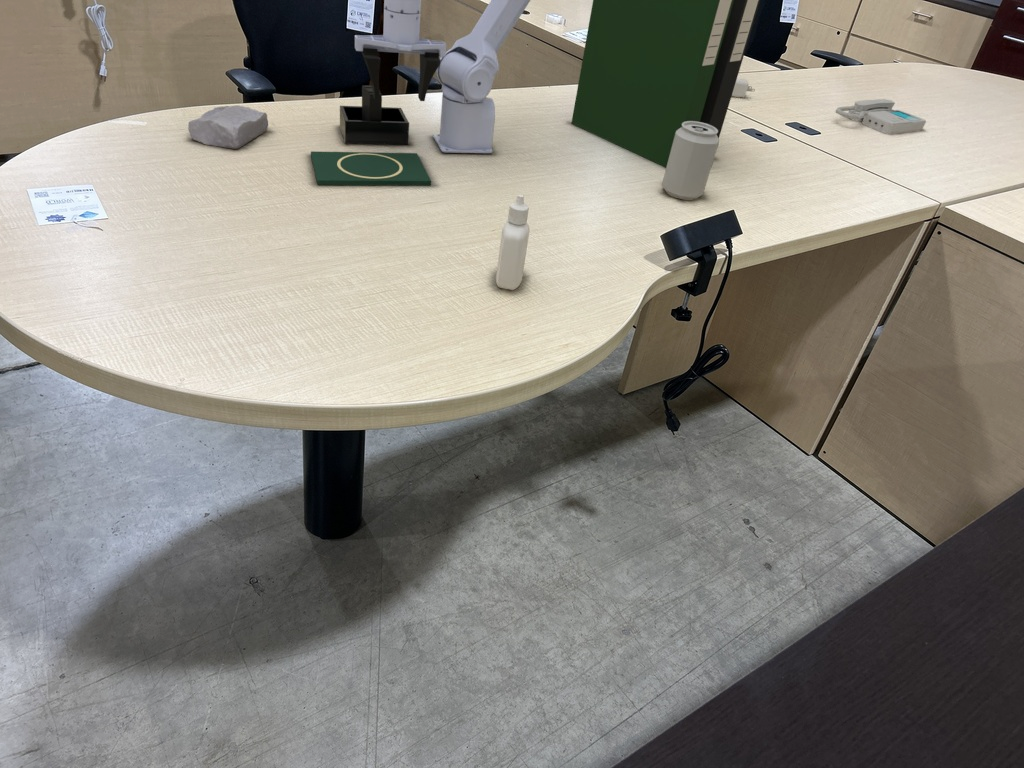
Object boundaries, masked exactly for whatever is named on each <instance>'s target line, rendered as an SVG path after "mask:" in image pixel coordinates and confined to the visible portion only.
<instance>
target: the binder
mask: <svg viewBox="0 0 1024 768" xmlns="http://www.w3.org/2000/svg"><path fill="white" fill-rule="evenodd" d="M760 4H761V0H592V4H591V10H590V16H589V22H588V27H587V31H586V33H587V34H586V38H585V44H584V50H583V55H582V62H581V67H580V72H579V77H578V83H577V88H576V93H575V94H576V95H575V100H574V106H573V111H572V117H571V124H572V125H574V126H575V127H578V128H580V129H582V130H583V131H586V132H589V133H591V134H593V135H596V136H597V137H599V138H602V139H604V140H606V141H607V142H610V143H611V144H614V145H616V146H619V147H621V148H623V149H625V150H628V151H629V152H631V153H634V154H636V155H638V156H641V157H642V158H645V159H647V160H649V161H651V162H654V163H655V164H657V165H659V166H662V167H664V168H666V167H667V163H668V160H669V156H670V152H671V148H672V144H673V141H674V137H675V133H676V131H677V130H678V129H679V128H681V127H682V123H683V122H686V121H697V122H702V123H706V124H709V125H711V126H713V127H715V128H716V129H717V130H718V133H717V136H718V138H719V139H720V136H721V132H722V129H723V126H724V123H725V119H726V116H727V113H728V109H729V106H730V104H731V99H732V93H733V90H734V86H735V83H736V80H737V78H738V76H739V73H740V70H741V66H742V63H743V60H744V56H745V53H746V50H747V47H748V42H749V39H750V36H751V33H752V30H753V26H754V23H755V20H756V16H757V13H758V11H759V7H760Z"/></svg>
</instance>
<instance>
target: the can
mask: <svg viewBox="0 0 1024 768" xmlns="http://www.w3.org/2000/svg"><path fill="white" fill-rule="evenodd" d="M717 133H718V130H717V129H716V128H715V127H713V126H711V125H709V124H706V123H702V122H697V121H686V122H683V123H682V127H681V128H679V129H678V130H677V131H676V133H675V137H674V141H673V144H672V148H671V152H670V156H669V160H668V163H667V167H665V170H664V171H665V172H664V175H663V179H662V182H661V186H662V187H663V189H664V190H665V193H666V194H667V195H669V196H671V197H673V198H676V199H678V200H679V199H680V200H683V201H684V200H685V201H693V200H696V199H698V198H699V197H701V196H703V195H704V194H705V190H706V188H707V187H706V186H707V183H708V179H709V177H710V174H711V170H712V166H713V163H714V160H715V157H716V153H717V151H718V147H719V144H720V137H719V138H718V136H717Z"/></svg>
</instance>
